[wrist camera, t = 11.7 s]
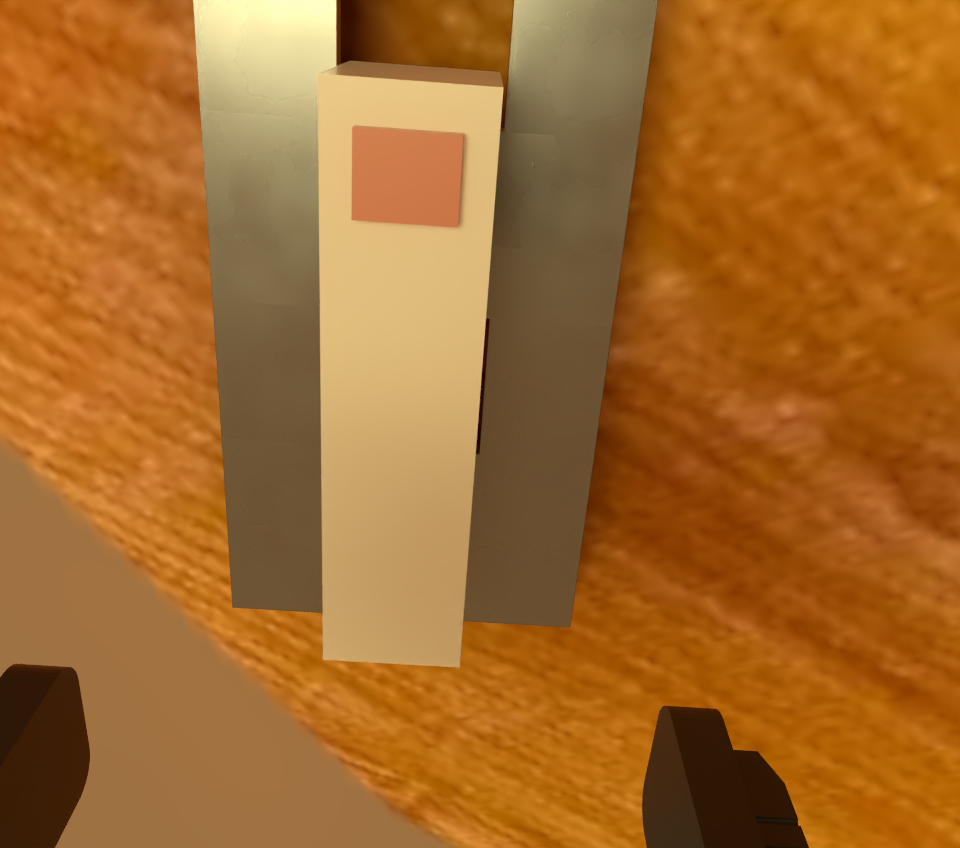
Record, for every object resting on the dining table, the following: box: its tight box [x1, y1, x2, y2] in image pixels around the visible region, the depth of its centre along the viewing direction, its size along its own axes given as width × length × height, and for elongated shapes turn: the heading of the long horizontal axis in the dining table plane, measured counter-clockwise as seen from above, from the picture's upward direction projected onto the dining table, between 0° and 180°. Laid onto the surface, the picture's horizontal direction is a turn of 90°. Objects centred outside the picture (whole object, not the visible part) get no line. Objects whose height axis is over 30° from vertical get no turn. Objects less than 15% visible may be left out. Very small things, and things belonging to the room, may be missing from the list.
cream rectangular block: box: [318, 61, 503, 668], centre depth 26 cm, size 16×4×8 cm, turn 176°
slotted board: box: [193, 0, 658, 627], centre depth 28 cm, size 24×12×4 cm, turn 176°
